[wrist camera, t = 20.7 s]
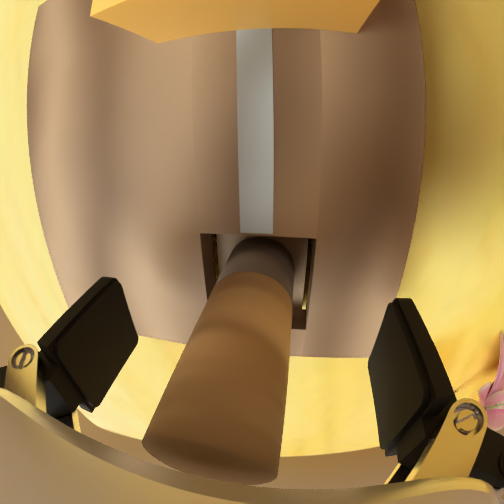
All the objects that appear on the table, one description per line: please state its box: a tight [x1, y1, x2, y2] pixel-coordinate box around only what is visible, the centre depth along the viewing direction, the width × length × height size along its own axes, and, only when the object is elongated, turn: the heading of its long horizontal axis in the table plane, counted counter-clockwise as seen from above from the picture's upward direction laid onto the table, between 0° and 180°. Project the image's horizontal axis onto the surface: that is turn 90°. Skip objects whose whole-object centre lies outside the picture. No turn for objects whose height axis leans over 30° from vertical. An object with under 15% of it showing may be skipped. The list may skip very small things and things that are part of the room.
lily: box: [478, 331, 504, 431], centre depth 14 cm, size 12×12×10 cm
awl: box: [142, 237, 294, 485], centre depth 8 cm, size 3×3×9 cm
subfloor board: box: [27, 0, 426, 358], centre depth 11 cm, size 18×20×4 cm
